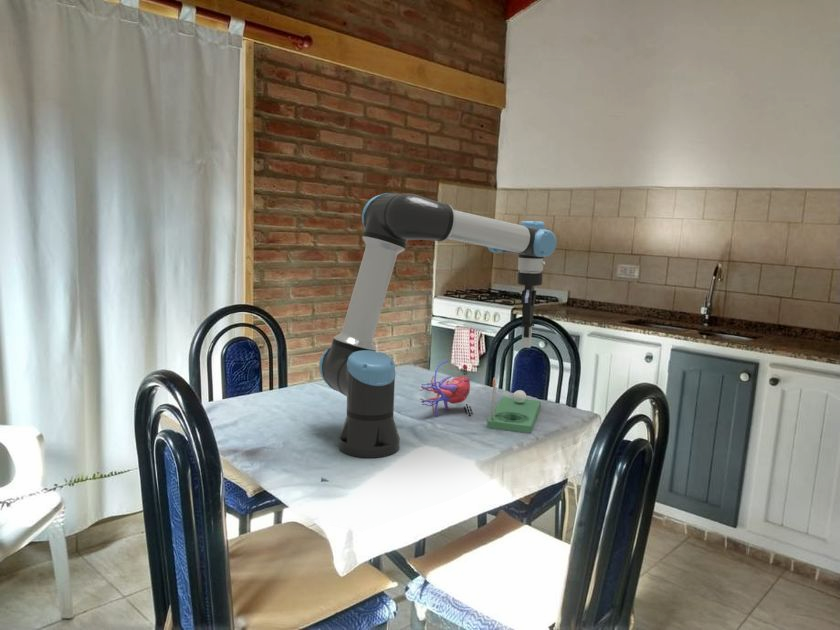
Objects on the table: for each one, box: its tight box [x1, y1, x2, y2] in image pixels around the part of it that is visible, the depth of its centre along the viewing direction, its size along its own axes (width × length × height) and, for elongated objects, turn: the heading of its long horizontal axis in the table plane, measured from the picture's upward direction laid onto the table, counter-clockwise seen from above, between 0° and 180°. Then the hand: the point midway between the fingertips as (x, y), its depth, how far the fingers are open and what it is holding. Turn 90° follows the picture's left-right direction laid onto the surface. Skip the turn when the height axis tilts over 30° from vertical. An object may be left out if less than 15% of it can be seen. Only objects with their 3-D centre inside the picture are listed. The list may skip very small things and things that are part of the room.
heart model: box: [419, 360, 474, 418], centre depth 191 cm, size 17×10×20 cm
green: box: [486, 377, 542, 434], centre depth 188 cm, size 27×12×14 cm, turn 164°
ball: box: [512, 389, 527, 403], centre depth 197 cm, size 4×4×4 cm
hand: (526, 347), depth 201 cm, fingers closed
